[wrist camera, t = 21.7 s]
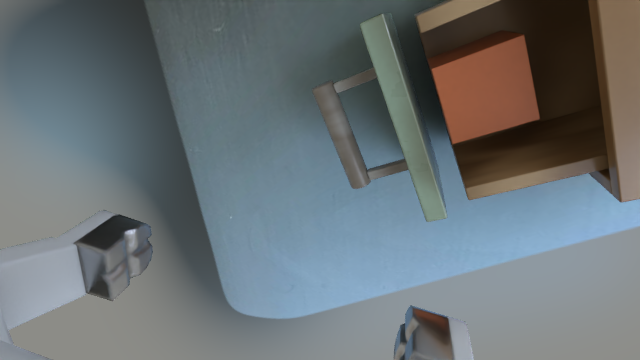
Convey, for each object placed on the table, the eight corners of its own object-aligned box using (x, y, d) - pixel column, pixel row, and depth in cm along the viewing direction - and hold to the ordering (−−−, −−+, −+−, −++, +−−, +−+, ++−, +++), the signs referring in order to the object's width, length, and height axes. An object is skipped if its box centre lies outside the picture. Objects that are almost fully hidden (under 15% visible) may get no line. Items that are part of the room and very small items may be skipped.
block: (517, 100, 22) (540, 119, 18) (445, 122, 24) (452, 144, 20) (502, 29, 21) (524, 34, 17) (427, 58, 22) (431, 68, 18)
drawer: (369, 183, 28) (357, 237, 21) (316, 46, 25) (280, 59, 18) (635, 111, 22) (737, 156, 15) (616, -90, 18) (741, -151, 11)
